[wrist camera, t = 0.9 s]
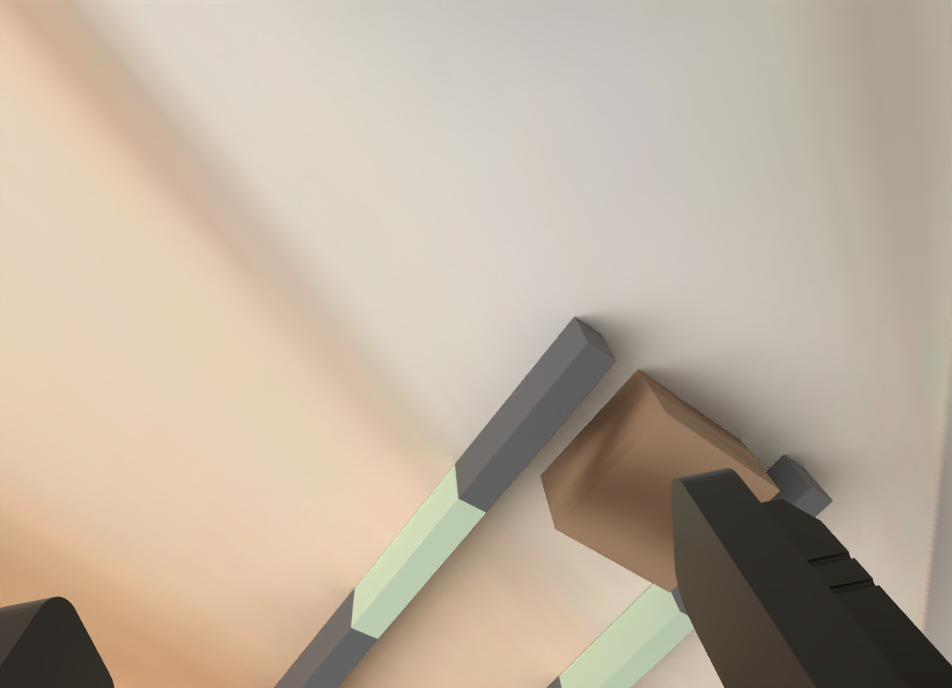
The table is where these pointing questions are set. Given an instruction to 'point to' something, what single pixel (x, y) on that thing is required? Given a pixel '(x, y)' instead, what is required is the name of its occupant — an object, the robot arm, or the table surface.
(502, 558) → the table surface
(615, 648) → the box
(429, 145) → the table surface
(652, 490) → the walnut block
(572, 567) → the table surface
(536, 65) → the table surface
